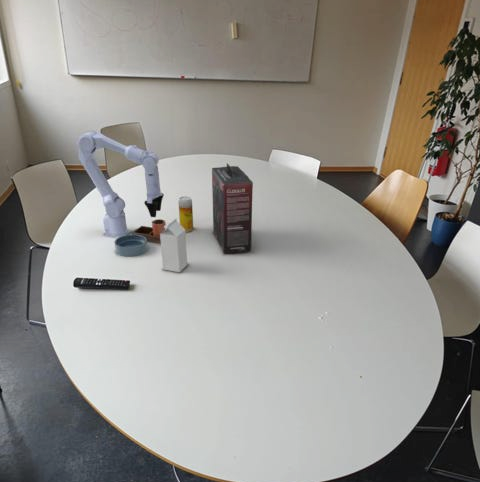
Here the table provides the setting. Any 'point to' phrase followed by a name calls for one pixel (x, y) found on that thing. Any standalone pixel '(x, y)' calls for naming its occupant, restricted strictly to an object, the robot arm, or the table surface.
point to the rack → (147, 234)
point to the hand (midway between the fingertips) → (155, 213)
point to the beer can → (186, 213)
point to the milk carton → (173, 247)
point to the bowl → (131, 245)
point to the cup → (158, 227)
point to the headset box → (232, 208)
